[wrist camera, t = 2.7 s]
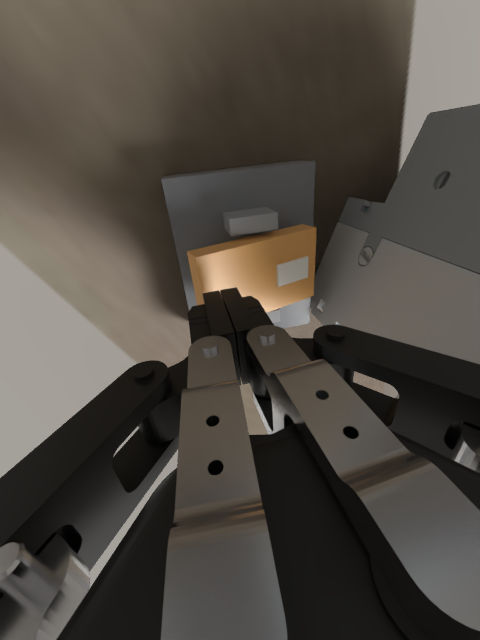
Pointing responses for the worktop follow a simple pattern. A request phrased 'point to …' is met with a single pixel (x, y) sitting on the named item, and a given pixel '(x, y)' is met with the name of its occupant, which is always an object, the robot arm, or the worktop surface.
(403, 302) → the electrical contactor
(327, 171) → the worktop surface
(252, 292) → the block
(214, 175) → the switch box
